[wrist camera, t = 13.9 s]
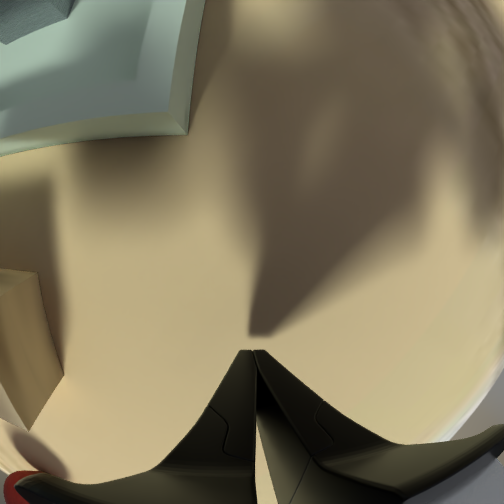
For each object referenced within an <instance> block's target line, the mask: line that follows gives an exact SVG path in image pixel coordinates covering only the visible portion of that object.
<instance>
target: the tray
mask: <svg viewBox="0 0 504 504" xmlns="http://www.w3.org/2000/svg"><path fill="white" fill-rule="evenodd" d="M204 5H205V0H75V2H74V4H73V7H72V9H71V11H70V14H69V16H68V19H65V20H62V21H60V22H57V23H54V24H52V25H49V26H46V27H44V28H41V29H39V30H37V31H34V32H32V33H30V34H28V35H25V36H23V37H21V38H19V39H17V40H15V41H13V42H11V43H9V44H7V45H5V44H3V43H1V42H0V157H1V156H5V155H9V154H13V153H17V152H22V151H27V150H32V149H37V148H42V147H48V146H54V145H60V144H67V143H74V142H81V141H90V140H99V139H109V138H121V137H137V136H160V135H188V124H189V113H190V103H191V93H192V84H193V76H194V68H195V61H196V53H197V47H198V40H199V34H200V28H201V22H202V16H203V11H204Z"/></svg>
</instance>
